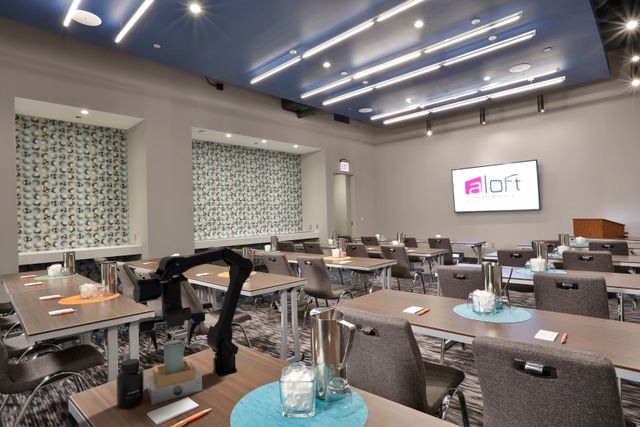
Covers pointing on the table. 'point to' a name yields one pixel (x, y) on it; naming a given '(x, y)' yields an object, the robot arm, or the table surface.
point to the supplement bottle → (130, 385)
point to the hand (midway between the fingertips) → (173, 347)
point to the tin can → (173, 357)
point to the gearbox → (173, 383)
